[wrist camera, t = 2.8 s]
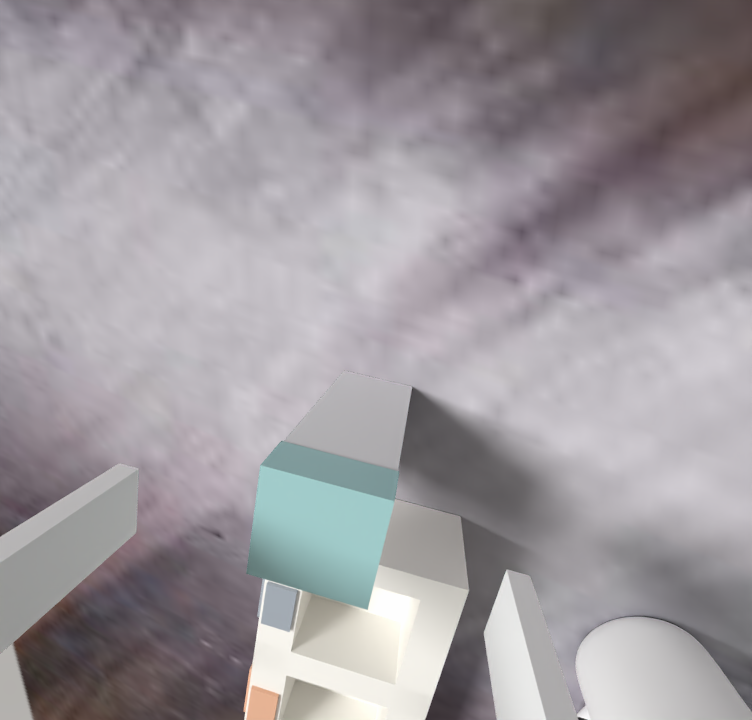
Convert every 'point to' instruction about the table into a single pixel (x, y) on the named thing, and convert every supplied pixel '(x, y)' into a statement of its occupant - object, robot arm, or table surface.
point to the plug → (332, 492)
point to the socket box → (365, 632)
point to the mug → (652, 675)
